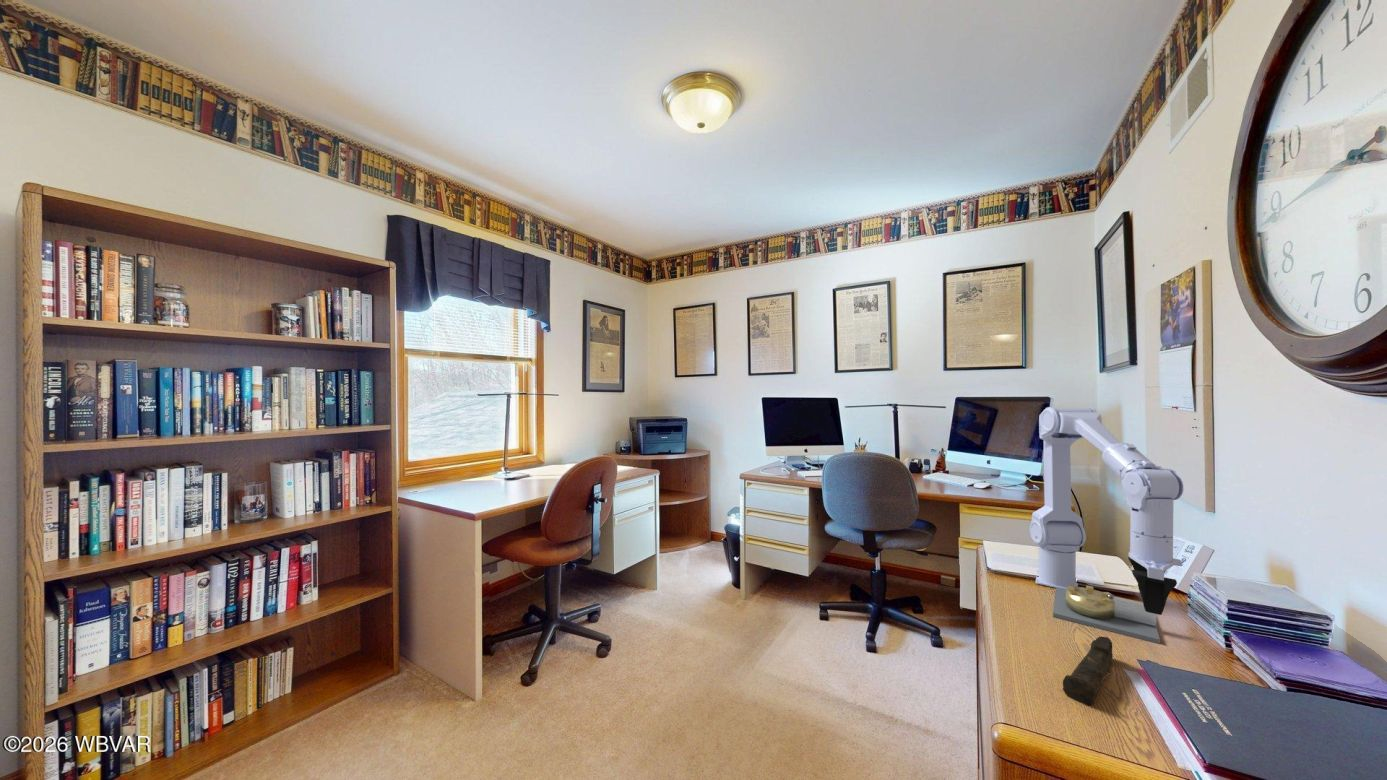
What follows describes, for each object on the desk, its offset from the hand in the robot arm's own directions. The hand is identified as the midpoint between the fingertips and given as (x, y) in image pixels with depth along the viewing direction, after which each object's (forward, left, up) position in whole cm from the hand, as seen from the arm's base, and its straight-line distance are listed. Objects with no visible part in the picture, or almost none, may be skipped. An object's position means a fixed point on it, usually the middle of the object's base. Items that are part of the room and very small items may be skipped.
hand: (1150, 604), depth 86 cm
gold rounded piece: (-8, -6, -7) cm, 12 cm away
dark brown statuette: (+19, -9, -8) cm, 22 cm away
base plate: (-10, -7, -8) cm, 15 cm away
